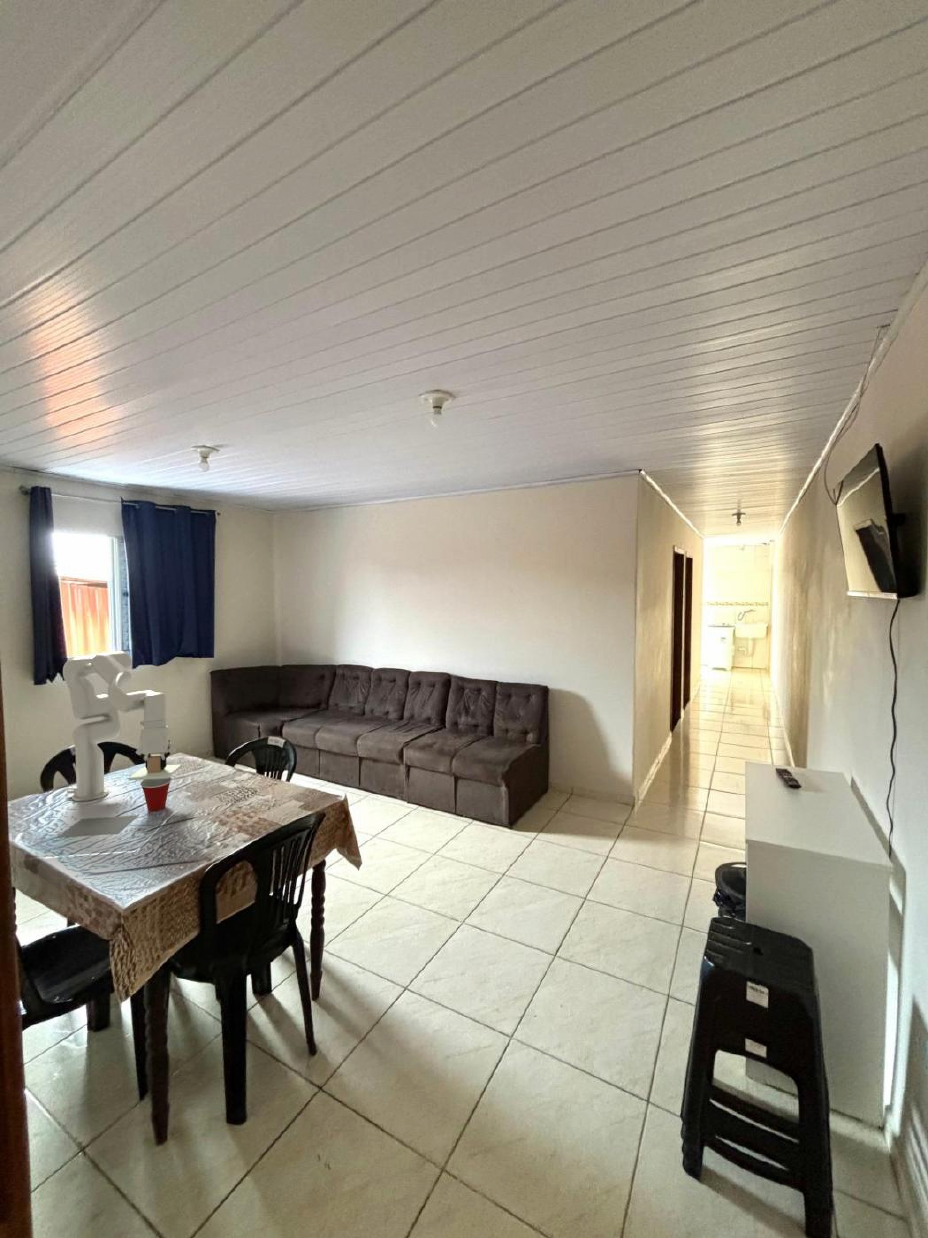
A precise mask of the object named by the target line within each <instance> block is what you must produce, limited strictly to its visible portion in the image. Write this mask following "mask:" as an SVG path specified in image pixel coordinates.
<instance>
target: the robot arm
mask: <svg viewBox="0 0 928 1238" xmlns="http://www.w3.org/2000/svg"><path fill="white" fill-rule="evenodd" d="M132 664H133V661H132V657H131V655H130V654H129V653H127V652H125V651H121V650H119V651H109V652H100V653H97V654H96V655H85V656H77V657H72V658H70V659H69V660H67V661H66V662H65V663H64V665H63V667H62V677H63V679H64V681H65V684H66V686H67V689H68V690H69V691H68V692H69V697H70V698H69V699H70V703H71V709H72V713H73V716H74V718H75V719H76V720H77V721H86V720H87V721H88V720H92V719H96V718H97V719H98V718H100V720H94V721H89V722H85V723H82V724H80V725H78V726H76V727H75V728H74V729H73V730H72V734H71V735H72V743H73V745H74V750H75V751H74V753H75V769H76V770H75V771H76V772H75V773H76V774H75V776H76V779H75V780H76V786H75V787H74V786H70V787H69V786H68V787H67V789H66V790H67V791H66V793H67V794H72V797H71V799H72V800H73V801H74V802H89V801H93V800H97V799H101V798H103V797H105V796H108V794H109V792H110V791H109V789H108V788H105V771H104V770H105V767H104V765H105V764H104V761H105V760H104V759H105V758H104V752H103V750H102V749H101V748H100V746H99V745H98V744H100V743H105V742H108V741H112V740H115V739H116V738H118V737H119V736H120V734H121V723H120V721H121V720H120V717H119V716H120V715H119V712H122V713H125V714H126V713H127V714H128V713H134V712H139V711H143V721H142V720H141V721H140V724H139V725H140V726H143V727H142V728H141V731H140V735H139V736H140V737H139V747H138V748H137V749H136V751H135V753H136V754H137V755H138V756H140V757H141V758H142V759H143V760H144V761H145V762H144V764H145V765H144V767H146V770H147V758H148V757H149V756H151V755H154V754H161V758H162V760H161V770H163V769H164V768H165V767H166V766H167V765H168V763H167V762H168V761H167V759H168V757H169V756H171V754H173V753H174V752H176V751H177V750H176V748H175V747H174V746H173V745H172V742H171V741H172V740H171V734H170V728H169V726H168V725H167V713H166V712H167V709H166V706H167V704H166V694H165V693H164V692H158V691H157V692H155V691H153V690H149V689H147V690H140V691H135V692H129V693H126V692H124V691H123V687H125V686H126V685H127V684H128V683H129V682H130V681H131V678H132V675H131V672H130V671H129V669H130V668H131V666H132ZM91 676H99V677H100V678H102V679H103V681H105V683H106V684H108V687H107V694H99V695H98V694H97V695H96V692H95V687H94V685H93V683H92V682H91V681H90V680H89V679H88V678H87V677H91ZM121 688H122V689H121ZM168 750H169V751H168Z"/></svg>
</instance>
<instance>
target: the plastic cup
mask: <svg viewBox="0 0 928 1238" xmlns="http://www.w3.org/2000/svg"><path fill="white" fill-rule="evenodd" d="M171 782H172V776H170V777H169V778H163V779H145V780H141V781H140V783H139V784H140V786H141V788H142V791H143V795H144V799H145V804H146V809H147V810H148V811H149V812H158V811H161V810H163V809H165V808H166V805H167V798H168V793H169V788H170V784H171Z"/></svg>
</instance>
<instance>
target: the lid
mask: <svg viewBox="0 0 928 1238" xmlns="http://www.w3.org/2000/svg"><path fill="white" fill-rule="evenodd" d="M161 760H162V758H161V754H160V753H155V754H151V756H149V757H148V758H147V770H146V767H145V766H144V767H142V768H140V769H139V770H137V771H136V772H135V773H133V774H131V775H130V776H129V777H128V781H140V780H141V781H143V780H145V779H163V778H169V777H172V776H173V775H174V774H175V773H176V772H178V771H179V770H180V769H181V768H182V766H183V765H182V763H181V764H167V766H166V767H165V768H164V769H163V770H161Z"/></svg>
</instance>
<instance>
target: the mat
mask: <svg viewBox="0 0 928 1238" xmlns="http://www.w3.org/2000/svg"><path fill="white" fill-rule="evenodd" d="M138 817H140V816H139V815H119V816H108V817H107V816H106V817H105V816H104V817H87V818H80V820H78V821H77V822H75V823H74V824H73V825H71V826H70V827H69V828H67V829H65V830H64V831H63V832H61V834H59V835H58V836H56V837H55V838H56V839H58V838H59V839H63V838H73V837H74V838H75V837H88V836H90V837H91V836H104V835H105V836H108V835H118V834H120V833H121V832H122V831H123V830H125V829H126V827H127V826H129V825H130V824H131V823H132V822H133V821H134V820H135V819H137V818H138Z"/></svg>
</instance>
